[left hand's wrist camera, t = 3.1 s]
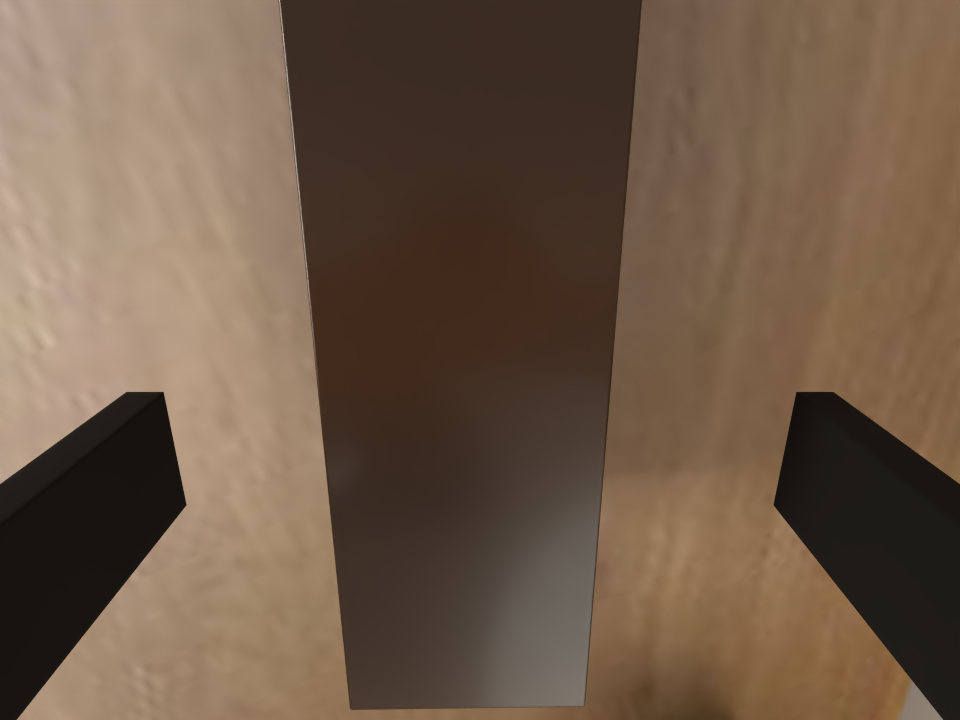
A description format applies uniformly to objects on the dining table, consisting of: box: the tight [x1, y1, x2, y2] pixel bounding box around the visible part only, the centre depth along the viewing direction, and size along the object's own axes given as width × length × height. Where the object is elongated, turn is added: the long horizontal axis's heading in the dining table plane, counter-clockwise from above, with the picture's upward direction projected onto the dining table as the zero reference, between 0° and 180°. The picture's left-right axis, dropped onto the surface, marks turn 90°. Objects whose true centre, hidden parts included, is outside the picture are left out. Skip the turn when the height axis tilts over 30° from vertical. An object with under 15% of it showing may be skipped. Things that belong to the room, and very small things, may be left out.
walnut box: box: [279, 0, 642, 710], centre depth 12 cm, size 26×5×9 cm, turn 0°
